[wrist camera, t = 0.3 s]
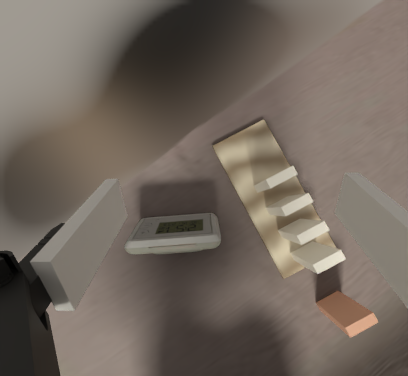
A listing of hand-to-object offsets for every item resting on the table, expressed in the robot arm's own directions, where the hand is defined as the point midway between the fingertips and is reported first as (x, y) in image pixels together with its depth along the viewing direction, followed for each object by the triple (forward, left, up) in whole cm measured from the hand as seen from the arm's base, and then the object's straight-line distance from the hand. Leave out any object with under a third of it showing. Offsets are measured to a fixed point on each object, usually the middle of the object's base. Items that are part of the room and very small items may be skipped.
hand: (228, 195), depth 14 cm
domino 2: (-6, -11, -34) cm, 36 cm away
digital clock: (-1, +9, -35) cm, 36 cm away
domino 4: (-16, -11, -34) cm, 39 cm away
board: (-4, -11, -35) cm, 37 cm away
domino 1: (-1, -11, -34) cm, 36 cm away
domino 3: (-11, -11, -34) cm, 37 cm away
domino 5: (-27, -11, -35) cm, 45 cm away
